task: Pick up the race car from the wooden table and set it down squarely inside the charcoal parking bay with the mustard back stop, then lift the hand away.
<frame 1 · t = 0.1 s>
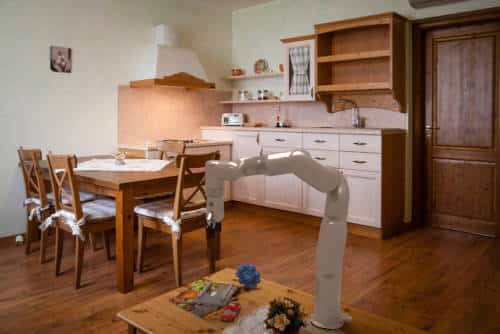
hand: (214, 234, 172), 31 cm above the table, tool pointing down, fingers open, 9 cm apart
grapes: (247, 289, 197), on the table
parking bay: (215, 295, 190), on the table
race car: (230, 315, 172), on the table
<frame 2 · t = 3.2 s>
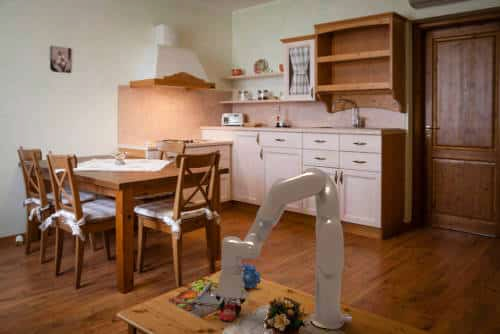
hand: (230, 312, 172), 1 cm above the table, tool pointing down, fingers closed on race car, 5 cm apart
race car: (230, 315, 172), on the table, touching gripper
everything else where it was.
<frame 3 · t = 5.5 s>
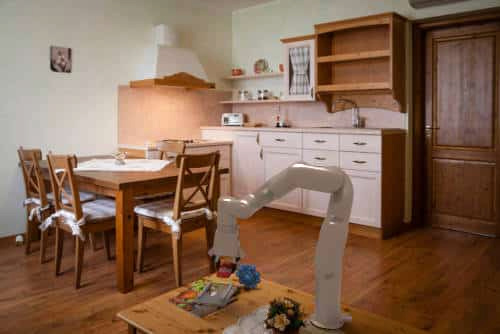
hand: (226, 271, 175), 16 cm above the table, tool pointing down, fingers closed on race car, 5 cm apart
race car: (226, 274, 175), point 15 cm above the table, touching gripper
everything else where it was.
when the fingers open (3 cm above the table, at t = 8.3 s): race car drops 1 cm, resting on parking bay.
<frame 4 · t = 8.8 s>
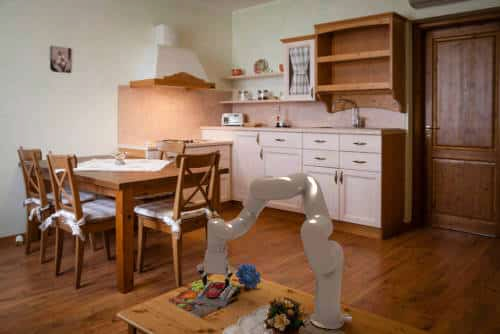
hand: (215, 285, 189), 4 cm above the table, tool pointing down, fingers open, 9 cm apart
race car: (216, 293, 189), point 1 cm above the table, touching parking bay
everything else where it was.
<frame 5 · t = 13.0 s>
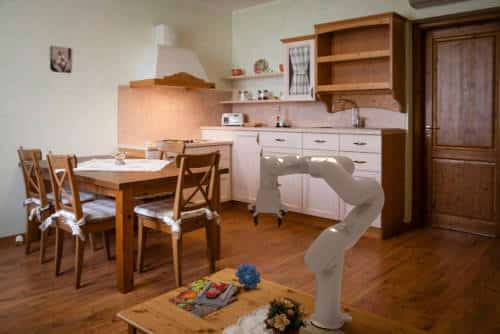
hand: (267, 225, 182), 32 cm above the table, tool pointing down, fingers open, 9 cm apart
at the end: race car 0.7 cm off-centre on the parking bay, point 0.8 cm above the parking bay's base; race car tilted 0°; the gripper is holding nothing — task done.
